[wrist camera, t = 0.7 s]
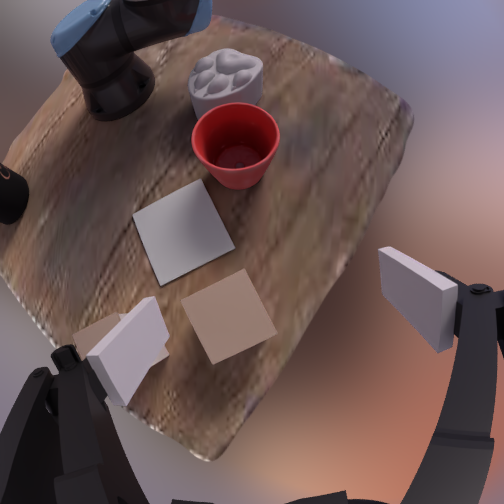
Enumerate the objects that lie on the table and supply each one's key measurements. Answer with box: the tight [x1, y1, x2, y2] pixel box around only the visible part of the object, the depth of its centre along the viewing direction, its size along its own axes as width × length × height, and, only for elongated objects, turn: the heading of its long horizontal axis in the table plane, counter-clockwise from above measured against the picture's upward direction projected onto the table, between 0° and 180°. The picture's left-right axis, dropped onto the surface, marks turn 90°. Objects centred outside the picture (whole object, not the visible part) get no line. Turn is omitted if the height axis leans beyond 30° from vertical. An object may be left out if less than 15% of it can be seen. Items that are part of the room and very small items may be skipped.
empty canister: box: [180, 269, 278, 364], centre depth 33 cm, size 7×7×10 cm
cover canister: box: [72, 312, 169, 366], centre depth 32 cm, size 7×7×10 cm
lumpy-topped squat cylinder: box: [188, 49, 263, 120], centre depth 40 cm, size 10×13×9 cm
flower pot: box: [191, 103, 280, 190], centre depth 37 cm, size 11×11×10 cm
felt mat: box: [133, 179, 235, 286], centre depth 40 cm, size 12×12×1 cm
